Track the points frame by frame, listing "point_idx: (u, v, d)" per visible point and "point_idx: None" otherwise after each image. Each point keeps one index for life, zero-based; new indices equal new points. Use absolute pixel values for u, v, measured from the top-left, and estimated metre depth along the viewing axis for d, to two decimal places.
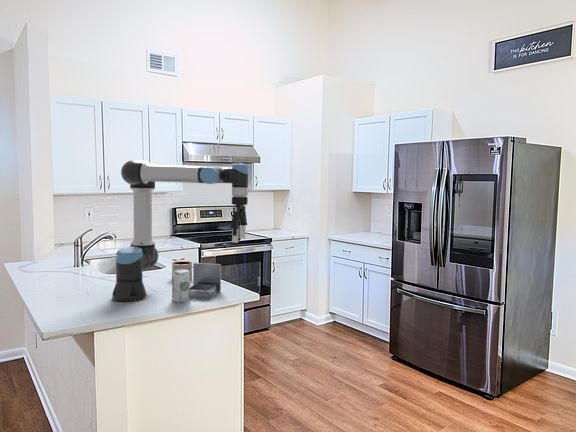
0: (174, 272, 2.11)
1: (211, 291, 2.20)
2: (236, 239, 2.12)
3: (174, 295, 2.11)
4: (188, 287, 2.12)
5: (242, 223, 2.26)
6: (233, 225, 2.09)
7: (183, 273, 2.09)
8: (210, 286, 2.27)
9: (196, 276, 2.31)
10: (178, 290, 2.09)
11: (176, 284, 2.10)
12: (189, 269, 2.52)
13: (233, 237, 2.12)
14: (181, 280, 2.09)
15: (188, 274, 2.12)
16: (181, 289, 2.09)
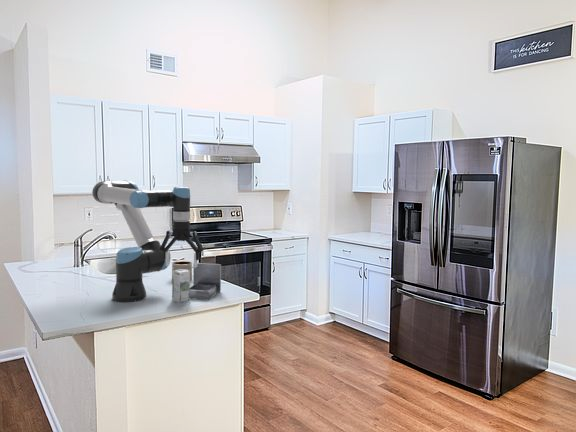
0: (174, 272, 2.11)
1: (211, 291, 2.20)
2: None
3: (174, 295, 2.11)
4: (188, 287, 2.12)
5: None
6: None
7: (183, 273, 2.09)
8: (210, 286, 2.27)
9: (196, 276, 2.31)
10: (178, 290, 2.09)
11: (176, 284, 2.10)
12: (189, 269, 2.52)
13: None
14: (181, 280, 2.09)
15: (188, 274, 2.12)
16: (181, 289, 2.09)
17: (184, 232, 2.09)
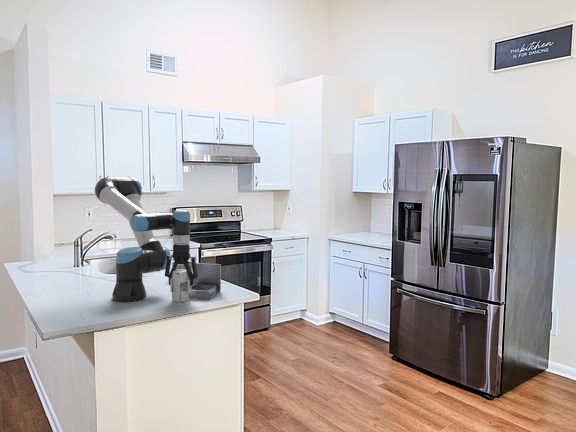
0: (174, 272, 2.11)
1: (211, 291, 2.20)
2: None
3: (174, 295, 2.11)
4: None
5: None
6: None
7: (183, 273, 2.09)
8: (210, 286, 2.27)
9: None
10: (178, 290, 2.09)
11: (176, 284, 2.10)
12: None
13: None
14: (181, 280, 2.09)
15: None
16: (181, 289, 2.09)
17: (184, 254, 2.10)
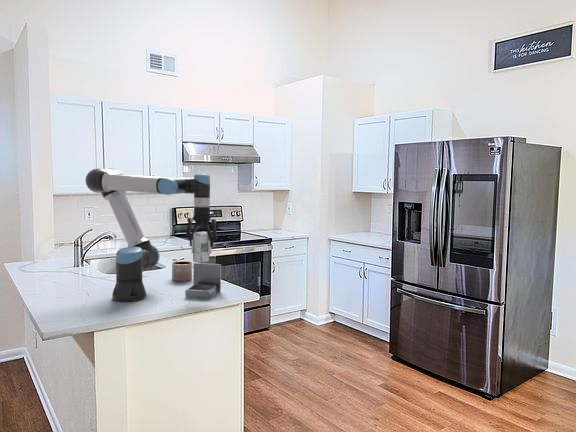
0: (195, 234, 2.19)
1: (211, 291, 2.20)
2: None
3: (195, 256, 2.20)
4: None
5: None
6: None
7: (204, 234, 2.17)
8: (210, 286, 2.27)
9: (196, 276, 2.31)
10: (199, 250, 2.17)
11: (197, 245, 2.18)
12: (189, 269, 2.52)
13: None
14: (202, 241, 2.17)
15: (208, 236, 2.20)
16: (202, 250, 2.17)
17: (205, 216, 2.18)
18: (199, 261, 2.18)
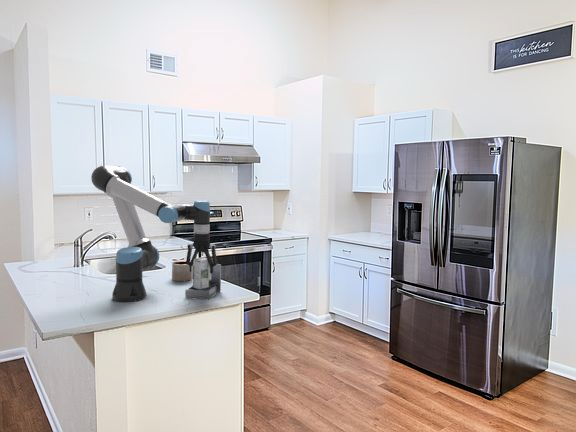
0: (195, 260, 2.20)
1: (211, 291, 2.20)
2: None
3: (195, 282, 2.21)
4: None
5: None
6: None
7: (204, 261, 2.19)
8: (210, 286, 2.27)
9: None
10: (199, 277, 2.19)
11: (197, 271, 2.20)
12: (189, 269, 2.52)
13: None
14: (202, 267, 2.18)
15: None
16: (202, 276, 2.19)
17: (204, 243, 2.19)
18: (199, 287, 2.19)
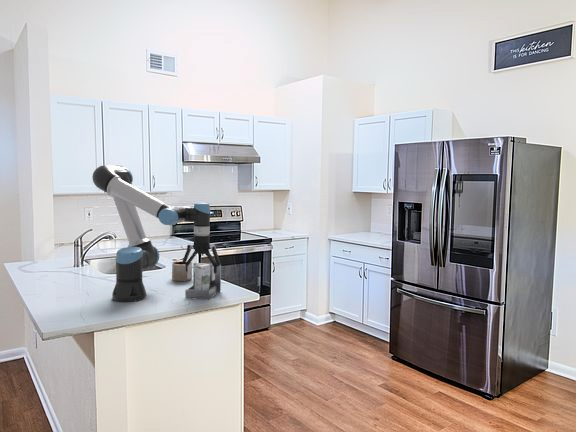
0: (195, 266, 2.20)
1: (211, 291, 2.20)
2: None
3: (195, 288, 2.21)
4: (209, 280, 2.22)
5: None
6: None
7: (204, 267, 2.19)
8: (210, 286, 2.27)
9: None
10: (200, 283, 2.19)
11: (197, 277, 2.20)
12: None
13: None
14: (202, 274, 2.19)
15: (209, 268, 2.22)
16: (202, 282, 2.19)
17: (204, 245, 2.19)
18: None
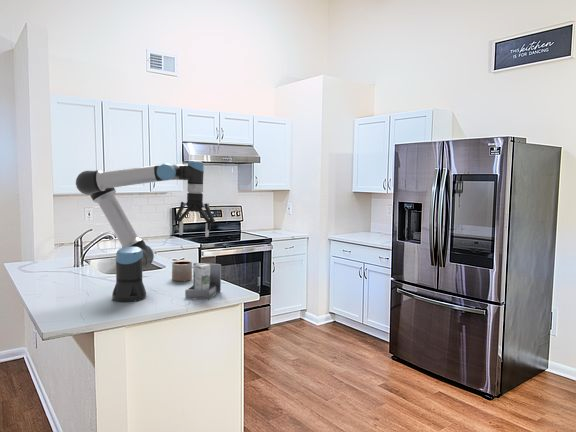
0: (195, 266, 2.20)
1: (211, 291, 2.20)
2: None
3: (195, 288, 2.21)
4: (209, 280, 2.22)
5: None
6: None
7: (204, 267, 2.19)
8: (210, 286, 2.27)
9: None
10: (200, 283, 2.19)
11: (197, 277, 2.20)
12: (189, 269, 2.52)
13: None
14: (202, 274, 2.19)
15: (209, 268, 2.22)
16: (202, 282, 2.19)
17: (197, 203, 2.23)
18: None
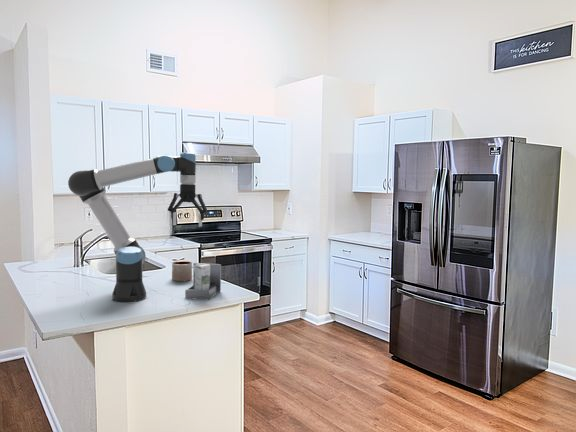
0: (195, 266, 2.20)
1: (211, 291, 2.20)
2: None
3: (195, 288, 2.21)
4: (209, 280, 2.22)
5: None
6: None
7: (204, 267, 2.19)
8: (210, 286, 2.27)
9: None
10: (200, 283, 2.19)
11: (197, 277, 2.20)
12: (189, 269, 2.52)
13: None
14: (202, 274, 2.19)
15: (209, 268, 2.22)
16: (202, 282, 2.19)
17: (190, 194, 2.29)
18: None
